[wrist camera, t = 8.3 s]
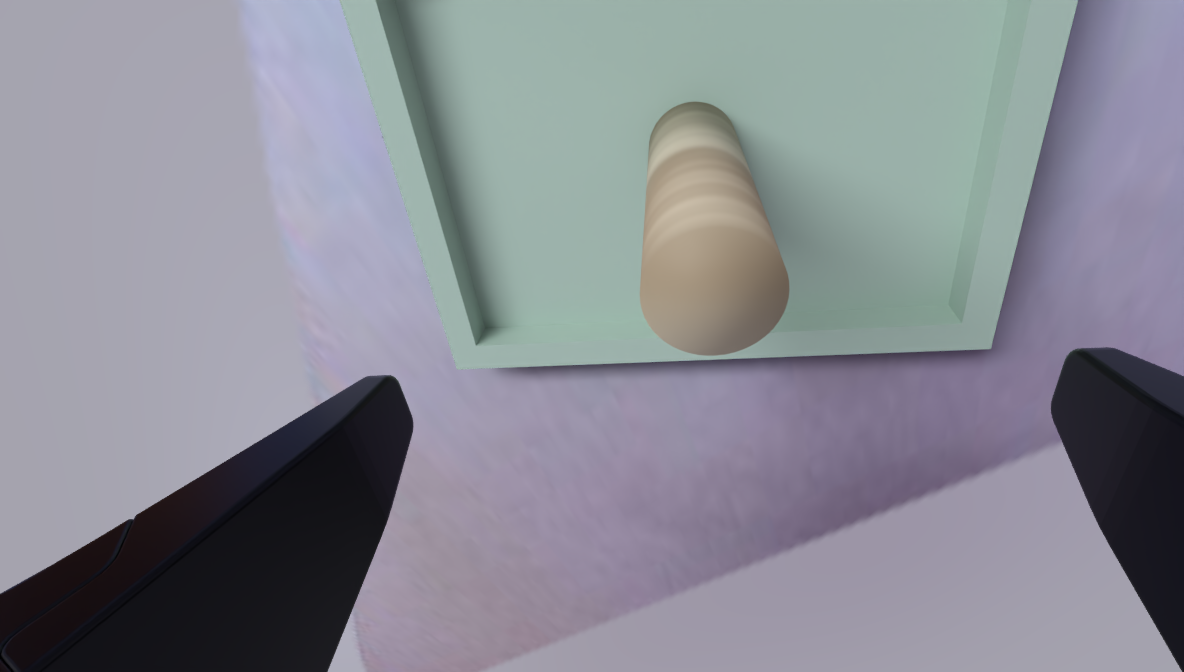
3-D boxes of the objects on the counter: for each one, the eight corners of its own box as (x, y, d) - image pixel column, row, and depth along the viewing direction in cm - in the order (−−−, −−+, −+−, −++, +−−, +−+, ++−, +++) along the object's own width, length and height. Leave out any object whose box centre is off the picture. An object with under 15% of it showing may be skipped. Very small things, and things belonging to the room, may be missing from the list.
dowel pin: (737, 184, 19) (787, 351, 11) (653, 193, 19) (647, 360, 12) (736, 95, 17) (791, 219, 10) (644, 107, 18) (632, 235, 10)
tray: (968, 319, 21) (990, 349, 19) (471, 342, 24) (457, 369, 23) (1088, -223, 13) (1138, -242, 12) (346, -81, 17) (313, -83, 15)
